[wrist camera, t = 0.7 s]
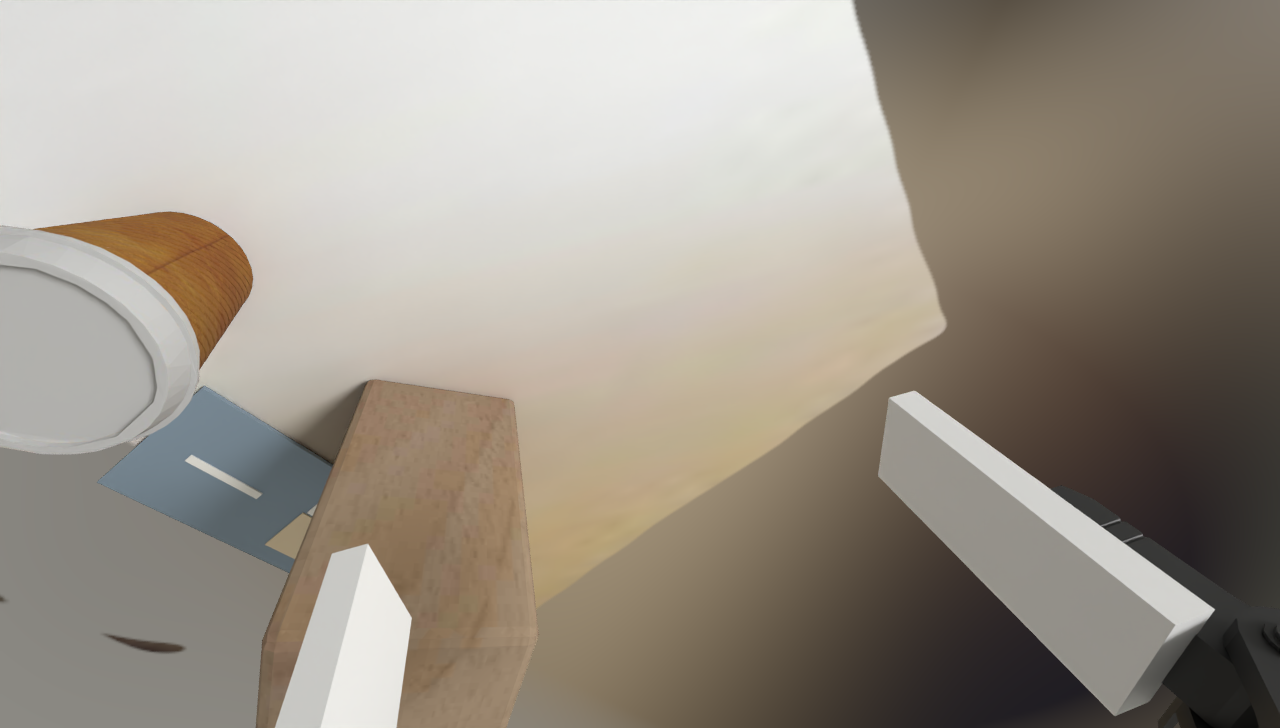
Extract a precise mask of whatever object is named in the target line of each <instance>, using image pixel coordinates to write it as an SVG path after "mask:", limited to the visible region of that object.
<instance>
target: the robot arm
mask: <svg viewBox="0 0 1280 728" xmlns="http://www.w3.org/2000/svg"><path fill="white" fill-rule="evenodd" d="M878 476H879V477H880V478H881V479H882V480H883V481H884V482H885V483H886V484H887V485H888V486H889V487H890V488H891V489H892V490H893V491H894V492H895V493H896V494H897V496H898V497H900V499H901V500H903V502H905V504H906V505H907V506H908V507H909V508H910V509H911V510H912V511H913V512H914V513H915V514H916V515H917V516H918V517H919V518H920V519H921V520H922V521H923V522H924V523H925V524H926V525H927V526H928V527H929V528H930V529H931V530H932V531H933V532H934V533H935V534H936V535H937V536H938V537H939V538H940V539H941V540H942V541H943V542H944V543H945V544H946V545H947V546H948V547H949V548H950V549H951V550H952V551H953V552H954V553H955V554H956V555H957V556H958V557H959V558H960V559H961V561H963V562H964V563H965V565H967V566H968V567H969V569H970V570H971V571H972V572H973V573H974V574H975V575H976V576H977V577H978V578H979V579H980V580H981V581H982V582H983V583H984V584H985V585H986V586H988V588H989V589H990V590H991V591H992V592H993V593H994V594H995V595H996V596H997V597H998V598H999V599H1000V600H1001V601H1002V602H1003V603H1004V604H1005V605H1006V606H1007V607H1008V608H1009V609H1010V610H1011V611H1012V612H1013V613H1014V614H1015V615H1016V616H1017V617H1018V618H1019V619H1020V620H1021V621H1022V622H1023V624H1025V626H1026V627H1028V629H1029V630H1030V631H1031V632H1032V633H1033V634H1034V635H1035V636H1036V637H1037V638H1038V639H1039V640H1040V641H1041V642H1042V643H1043V644H1044V645H1045V646H1046V647H1047V648H1048V649H1049V650H1050V651H1051V652H1052V653H1053V654H1054V655H1055V656H1056V657H1057V658H1058V659H1059V660H1060V661H1061V662H1062V663H1063V664H1064V665H1065V666H1066V667H1067V668H1068V669H1069V670H1070V671H1071V672H1072V673H1073V674H1074V675H1075V676H1076V677H1077V678H1078V679H1079V680H1080V681H1081V682H1082V683H1083V684H1084V685H1085V686H1086V687H1087V689H1088V690H1090V692H1092V693H1093V695H1094V696H1095V697H1097V699H1098V700H1099V701H1100V702H1101V703H1102V704H1103V705H1104V706H1105V707H1106V708H1107V709H1108V710H1109V711H1110V712H1111V713H1112V714H1113V715H1114V716H1116V715H1118V714H1121V713H1123V712H1126V711H1128V710H1131V709H1133V708H1135V707H1138V706H1140V705H1143V704H1145V703H1147V702H1149V701H1150V700H1151V698H1152V697H1153V695H1154V694H1155V693H1156V691H1157V690H1158V688H1159V687H1160V686H1161V684H1162V683H1163V684H1164V685H1165V686H1166V687H1167V688H1169V689H1170V690H1171V691H1172V692H1173V693H1174V694H1175V695H1176V696H1177V697H1176V698H1175V699H1174V701H1173V702H1172V703H1171V705H1170V706H1169V707H1168V709H1167V710H1166V711H1165V713H1164V714H1163V715H1162V717H1161V718H1160V719H1159V720H1158V728H1173V727H1174V726H1175V725H1176V724H1177V722H1179V725H1180V728H1280V609H1277V608H1268V607H1260V606H1256V607H1251V606H1249V605H1247V604H1245V603H1243V602H1242V601H1240V600H1239V599H1237V598H1235V597H1234V596H1232V595H1231V594H1229V593H1228V592H1226V591H1225V590H1223V589H1222V588H1221V587H1219V586H1218V585H1216V584H1215V583H1213V582H1212V581H1210V580H1209V579H1208V578H1206V577H1205V576H1203V575H1202V574H1200V573H1199V572H1197V571H1196V570H1195V569H1193V568H1192V567H1190V566H1189V565H1187V564H1186V563H1184V562H1183V561H1182V560H1180V559H1179V558H1177V557H1176V556H1174V555H1173V554H1172V553H1170V552H1169V551H1167V550H1166V549H1164V548H1163V547H1161V546H1160V545H1159V544H1157V543H1156V542H1154V541H1153V540H1151V539H1150V538H1148V537H1147V538H1145V537H1143V535H1142V533H1141V532H1140V531H1138V530H1137V529H1136V528H1134V527H1133V526H1131V525H1130V524H1128V523H1127V522H1122V521H1121V520H1120V517H1118V516H1117V515H1115V514H1114V513H1112V512H1111V511H1110V510H1108V509H1107V508H1105V507H1104V506H1102V505H1101V504H1099V503H1098V502H1096V501H1095V500H1094V499H1092V498H1090V497H1087V496H1085V495H1083V494H1080V493H1078V492H1076V491H1074V490H1071V489H1069V488H1067V487H1064V486H1062V485H1061V486H1058V487H1055V488H1052V489H1049V488H1047V487H1046V486H1045V485H1044V484H1042V483H1041V482H1039V481H1038V480H1037V479H1035V478H1034V477H1033V476H1031V475H1030V474H1028V473H1027V472H1025V471H1024V470H1023V469H1022V468H1020V467H1019V466H1017V465H1016V464H1015V463H1013V462H1012V461H1011V460H1009V459H1008V458H1006V457H1005V456H1004V455H1002V454H1001V453H999V452H998V451H997V450H995V449H994V448H993V447H991V446H990V445H989V444H987V443H986V442H985V441H983V440H982V439H980V438H979V437H978V436H976V435H975V434H974V433H972V432H971V431H970V430H968V429H967V428H965V427H964V426H963V425H961V424H960V423H959V422H957V421H956V420H954V419H953V418H952V417H950V416H949V415H948V414H946V413H945V412H943V411H942V410H941V409H939V408H938V407H937V406H935V405H934V404H932V403H931V402H930V401H928V400H927V399H926V398H924V397H923V396H922V395H920V394H919V393H917V392H916V391H912V392H909V393H905V394H901V395H898V396H894V397H890V398H889V403H888V409H887V417H886V424H885V431H884V438H883V445H882V452H881V459H880V466H879V473H878ZM411 620H412V617H411V616H410V614H409V612H408V611H407V609H406V607H405V605H404V604H403V602H402V600H401V599H400V597H399V595H398V594H397V592H396V590H395V589H394V587H393V585H392V583H391V582H390V580H389V578H388V577H387V575H386V573H385V572H384V570H383V568H382V567H381V565H380V563H379V561H378V560H377V558H376V556H375V555H374V553H373V551H372V550H371V548H370V546H369V544H364V545H361V546H357V547H354V548H350V549H347V550H343V551H339V552H336V553H332V555H331V558H330V561H329V564H328V567H327V570H326V573H325V576H324V579H323V582H322V585H321V588H320V591H319V594H318V598H317V601H316V604H315V607H314V610H313V613H312V616H311V619H310V622H309V625H308V628H307V631H306V634H305V637H304V640H303V643H302V646H301V649H300V652H299V656H298V659H297V662H296V665H295V668H294V671H293V674H292V677H291V680H290V683H289V686H288V689H287V692H286V695H285V698H284V701H283V704H282V707H281V710H280V714H279V717H278V720H277V723H276V726H275V728H396V727H397V720H398V713H399V706H400V698H401V691H402V684H403V677H404V670H405V663H406V656H407V649H408V641H409V634H410V627H411Z"/></svg>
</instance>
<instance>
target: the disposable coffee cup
mask: <svg viewBox="0 0 1280 728" xmlns="http://www.w3.org/2000/svg"><path fill="white" fill-rule="evenodd" d="M252 282H253V276H252V269H251V266H250V264H249V261H248V259H247V257H246V255H245V253H244V252H243V250H242V248H241V247H240V246H239V245H238V244H237V243H236V242H235V240H234V239H233V238H232V237H230V236H229V235H228V234H227V233H225V232H224V231H223V230H221V229H220V228H219V227H217V226H215V225H214V224H212V223H210V222H208V221H206V220H203V219H201V218H199V217H196V216H192V215H188V214H185V213H177V212H158V213H151V214H144V215H137V216H129V217H121V218H114V219H105V220H99V221H92V222H84V223H76V224H68V225H60V226H53V227H47V228H38V229H25V228H17V227H9V226H0V447H3V448H9V449H15V450H20V451H26V452H32V453H37V454H80V453H87V452H95V451H100V450H103V449H107V448H110V447H113V446H117V445H119V444H122V443H124V442H129V441H132V440H135V439H138V438H141V437H144V436H147V435H150V434H152V433H154V432H156V431H157V430H159V429H161V428H163V427H165V426H167V425H168V424H169V423H170V422H172V421H173V420H174V419H175V418H176V417H178V416H179V415H180V414H181V412H182V411H183V410H184V409H185V407H186V406H187V405H188V404H189V402H190V401H191V399H192V397H193V394H194V392H195V389H196V387H197V384H198V382H199V370H200V368H201V367H202V365H203V364H204V362H205V361H206V359H207V358H208V356H209V354H210V353H211V352H212V350H213V349H214V347H215V346H216V344H217V342H218V341H219V340H220V338H221V337H222V335H223V334H224V332H225V331H226V329H227V327H228V326H229V325H230V323H231V321H232V320H233V319H234V317H235V316H236V314H237V312H238V311H239V310H240V308H241V307H242V305H243V304H244V302H245V301H246V300H247V298H248V297H249V294H250V292H251V289H252Z"/></svg>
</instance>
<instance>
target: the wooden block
mask: <svg viewBox="0 0 1280 728" xmlns="http://www.w3.org/2000/svg"><path fill="white" fill-rule="evenodd" d="M364 544H369V546H370V548H371V550H372V551H373V553H374V555H375V556H376V558H377V560H378V561H379V563H380V565H381V567H382V568H383V570H384V572H385V573H386V575H387V577H388V578H389V580H390V582H391V583H392V585H393V587H394V589H395V590H396V592H397V594H398V595H399V597H400V599H401V600H402V602H403V604H404V605H405V607H406V609H407V611H408V612H409V614H410V616H411V617H412V620H411V627H410V634H409V641H408V649H407V656H406V663H405V670H404V677H403V684H402V691H401V698H400V706H399V713H398V720H397V727H396V728H506V727H507V724H508V721H509V718H510V715H511V712H512V709H513V706H514V704H515V701H516V698H517V695H518V692H519V690H520V687H521V684H522V681H523V678H524V675H525V672H526V670H527V667H528V664H529V661H530V658H531V655H532V652H533V650H534V647H535V644H536V641H537V638H538V635H539V632H538V623H537V614H536V604H535V595H534V586H533V576H532V567H531V557H530V548H529V539H528V529H527V520H526V510H525V501H524V492H523V482H522V473H521V463H520V454H519V445H518V435H517V426H516V416H515V407H514V402H513V401H511V400H509V399H503V398H496V397H489V396H482V395H476V394H469V393H462V392H455V391H449V390H442V389H435V388H428V387H422V386H415V385H408V384H401V383H395V382H388V381H381V380H370V381H368V382H367V384H366V385H365V387H364V390H363V392H362V395H361V397H360V400H359V402H358V405H357V407H356V410H355V412H354V415H353V417H352V420H351V422H350V424H349V427H348V429H347V432H346V434H345V437H344V439H343V442H342V444H341V447H340V449H339V452H338V454H337V457H336V459H335V462H334V464H333V467H332V469H331V471H330V474H329V476H328V479H327V481H326V484H325V486H324V489H323V491H322V494H321V496H320V499H319V501H318V504H317V506H316V509H315V511H314V514H313V516H312V519H311V521H310V523H309V526H308V528H307V531H306V533H305V536H304V538H303V541H302V543H301V546H300V548H299V551H298V553H297V556H296V558H295V561H294V563H293V566H292V568H291V570H290V573H289V575H288V578H287V580H286V583H285V585H284V588H283V590H282V593H281V595H280V598H279V600H278V603H277V605H276V608H275V610H274V613H273V615H272V618H271V620H270V622H269V625H268V627H267V630H266V632H265V635H264V637H263V640H262V652H261V665H260V678H259V692H258V705H257V718H256V728H275V726H276V723H277V720H278V717H279V714H280V710H281V707H282V704H283V701H284V698H285V695H286V692H287V689H288V686H289V683H290V680H291V677H292V674H293V671H294V668H295V665H296V662H297V659H298V656H299V652H300V649H301V646H302V643H303V640H304V637H305V634H306V631H307V628H308V625H309V622H310V619H311V616H312V613H313V610H314V607H315V604H316V601H317V598H318V594H319V591H320V588H321V585H322V582H323V579H324V576H325V573H326V570H327V567H328V564H329V561H330V558H331V555H332V553H336V552H339V551H343V550H347V549H350V548H354V547H357V546H361V545H364Z"/></svg>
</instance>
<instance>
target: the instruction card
mask: <svg viewBox="0 0 1280 728" xmlns="http://www.w3.org/2000/svg"><path fill="white" fill-rule="evenodd" d="M332 467H333V464H331V463H329V462H328V461H326V460H324V459H323V458H321V457H320V456H318V455H316V454H315V453H313V452H311V451H310V450H308V449H307V448H305V447H303V446H302V445H300V444H298V443H297V442H295V441H293V440H292V439H290V438H289V437H287V436H285V435H284V434H282V433H280V432H279V431H277V430H276V429H274V428H272V427H271V426H269V425H267V424H266V423H264V422H263V421H261V420H259V419H258V418H256V417H254V416H253V415H251V414H250V413H248V412H246V411H245V410H243V409H241V408H240V407H238V406H237V405H235V404H233V403H232V402H230V401H228V400H227V399H225V398H224V397H222V396H220V395H219V394H217V393H215V392H214V391H212V390H211V389H209V388H207V387H206V386H203V387H202V388H201V389H200V390H199V391H198V392H197V393H196V394H195V395H193V397H192V399H191V401H190V402H189V404H188V405H187V406H186V407H185V409H184V410H183V411H182V412H181V414H180V415H179V416H178V417H176V418H175V419H174V420H173V421H172V422H170V423H169V424H168V425H167V426H165V427H163V428H161V429H159V430H157V431H156V432H154V433H152V434H150V435H149V436H148V437H146V438H145V439H144V440H143V441H142V442H141V443H140V444H139V445H138V446H136V447H135V448H134V449H133V450H132V451H131V452H130V453H129V454H128V455H126V456H125V457H124V458H123V459H122V460H121V461H120V462H119V463H117V464H116V465H115V466H114V467H113V468H112V469H111V470H110V471H109V472H107V473H106V474H105V475H104V476H103V477H102V478H101V479H100V480H99V481H98V482H97V483H99V484H101V485H104V486H106V487H108V488H110V489H112V490H114V491H116V492H118V493H121V494H123V495H125V496H127V497H129V498H131V499H133V500H135V501H138V502H139V503H142V504H144V505H146V506H148V507H150V508H152V509H154V510H156V511H159V512H161V513H163V514H165V515H167V516H169V517H171V518H173V519H176V520H178V521H180V522H182V523H184V524H186V525H189V526H190V527H193V528H195V529H197V530H199V531H201V532H203V533H205V534H207V535H210V536H212V537H214V538H216V539H218V540H220V541H222V542H224V543H227V544H229V545H231V546H233V547H235V548H237V549H239V550H241V551H244V552H246V553H248V554H250V555H252V556H254V557H256V558H258V559H261V560H263V561H265V562H267V563H269V564H271V565H273V566H275V567H277V568H280V569H282V570H284V571H286V572H288V573H290V570H291V568H292V566H293V563H294V561H295V558H296V556H297V553H298V551H299V548H300V546H301V543H302V541H303V538H304V536H305V533H306V531H307V528H308V526H309V523H310V521H311V519H312V516H313V514H314V511H315V509H316V506H317V504H318V501H319V499H320V496H321V494H322V491H323V489H324V486H325V484H326V481H327V479H328V476H329V474H330V471H331V469H332Z"/></svg>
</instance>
